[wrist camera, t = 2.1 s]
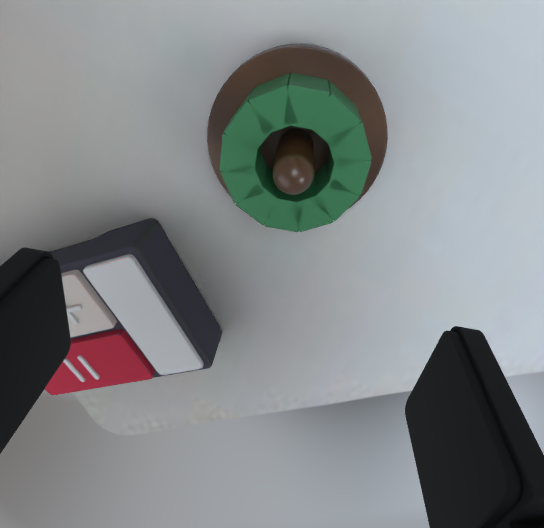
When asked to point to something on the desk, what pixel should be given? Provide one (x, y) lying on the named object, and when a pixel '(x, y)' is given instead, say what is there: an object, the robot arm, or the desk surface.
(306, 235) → the desk surface
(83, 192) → the desk surface
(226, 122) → the walnut peg
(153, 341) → the calculator
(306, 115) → the ring
